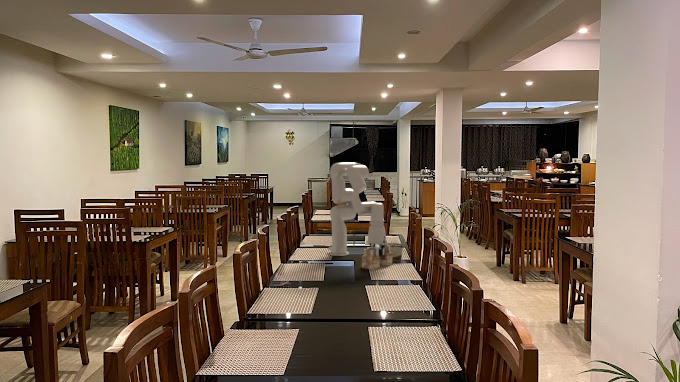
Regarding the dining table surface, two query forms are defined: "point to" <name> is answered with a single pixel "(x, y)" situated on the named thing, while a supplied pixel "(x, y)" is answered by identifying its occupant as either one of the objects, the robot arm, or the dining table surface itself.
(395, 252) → the food container
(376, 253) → the bed rail
